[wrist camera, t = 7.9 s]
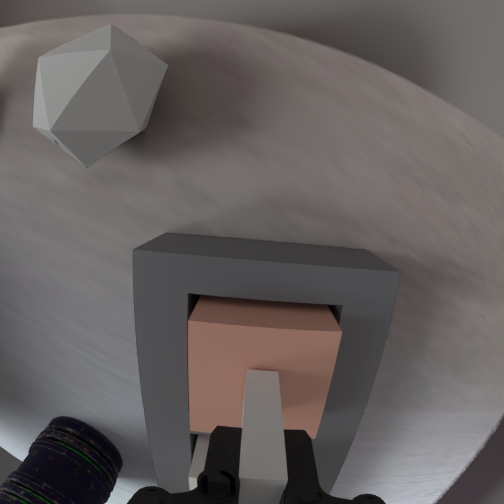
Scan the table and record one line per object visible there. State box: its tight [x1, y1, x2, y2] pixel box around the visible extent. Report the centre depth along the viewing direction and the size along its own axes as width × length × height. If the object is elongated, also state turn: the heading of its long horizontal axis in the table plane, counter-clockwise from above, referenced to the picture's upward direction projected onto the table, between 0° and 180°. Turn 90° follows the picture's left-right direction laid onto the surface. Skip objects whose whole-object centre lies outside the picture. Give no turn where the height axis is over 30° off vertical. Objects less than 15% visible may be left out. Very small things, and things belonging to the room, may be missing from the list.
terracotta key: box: [188, 295, 342, 439], centre depth 17 cm, size 7×7×5 cm
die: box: [33, 24, 168, 167], centre depth 16 cm, size 8×9×10 cm
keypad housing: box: [133, 233, 401, 494], centre depth 22 cm, size 14×32×6 cm, turn 175°
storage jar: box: [0, 416, 123, 504], centre depth 19 cm, size 10×10×15 cm
